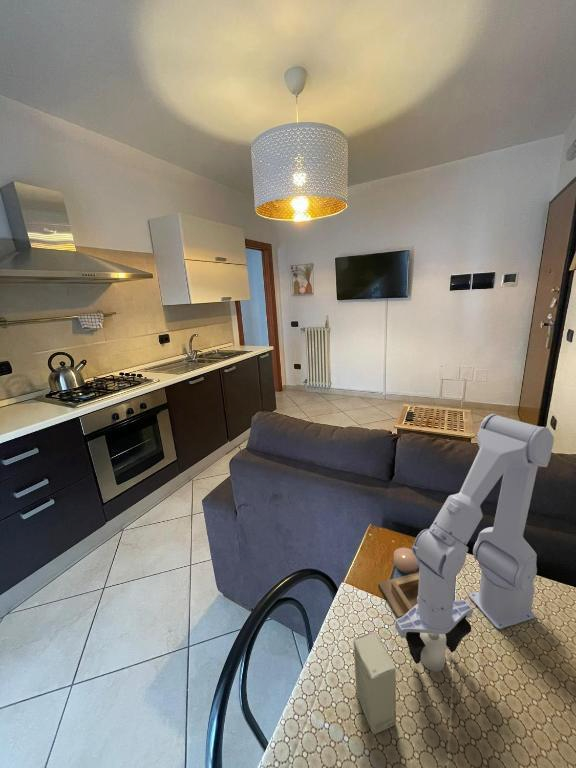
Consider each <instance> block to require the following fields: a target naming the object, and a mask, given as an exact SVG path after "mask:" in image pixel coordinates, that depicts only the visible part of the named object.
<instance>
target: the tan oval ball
mask: <svg viewBox="0 0 576 768" xmlns="http://www.w3.org/2000/svg"><path fill="white" fill-rule="evenodd" d="M416 561H417V559H416V556H414V554H413V552H412V548H408V547H399V548H397V549H395V550H394V553H393V565H394V566H395V568H396V569H397V570H398V571H400V572H402V573H404V574H407V575H410V574H414V573H417V572H418V571H419V566H418V564H416Z"/></svg>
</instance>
